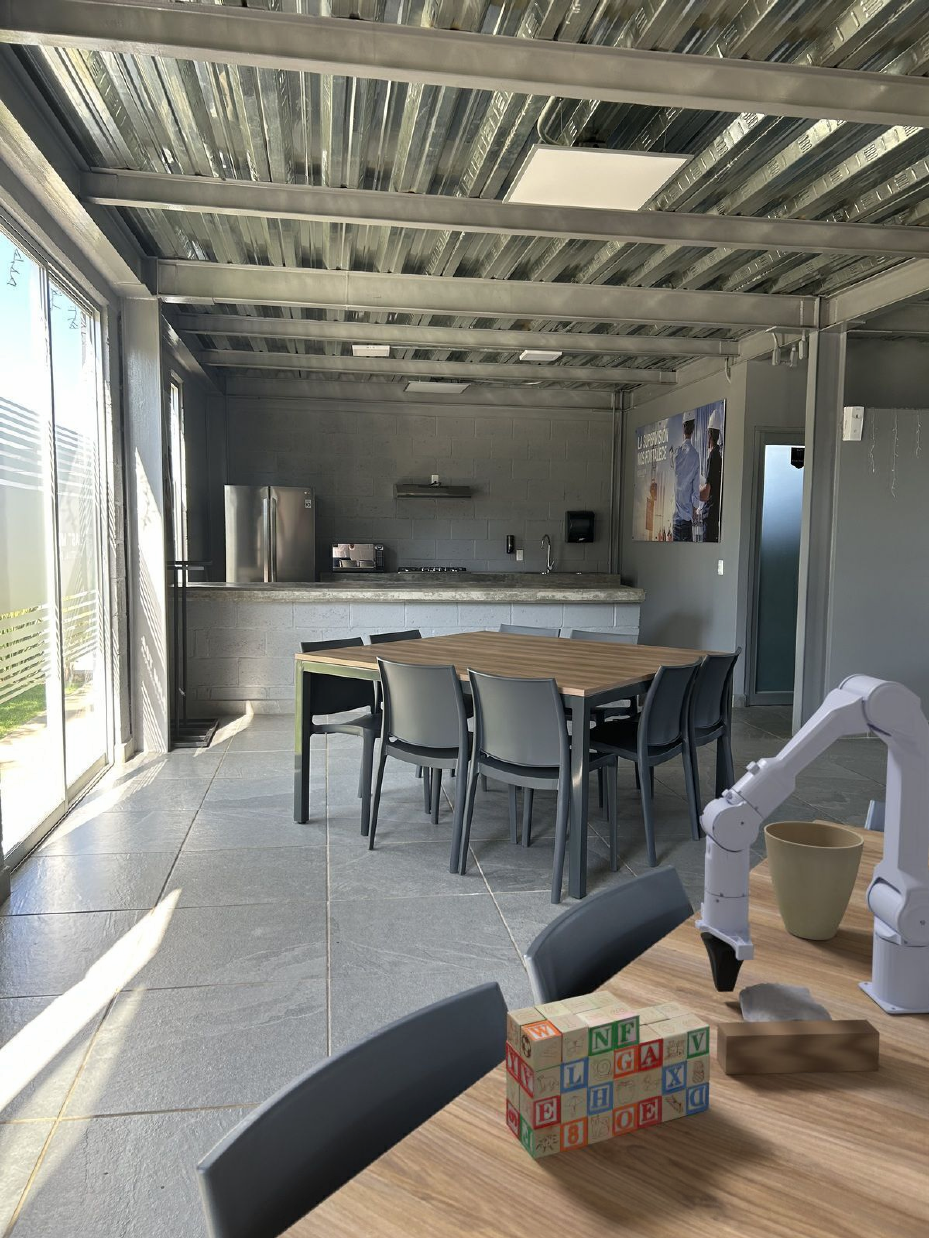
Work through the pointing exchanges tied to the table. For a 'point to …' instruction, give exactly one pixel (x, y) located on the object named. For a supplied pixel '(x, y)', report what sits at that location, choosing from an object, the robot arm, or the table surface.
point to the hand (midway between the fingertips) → (724, 989)
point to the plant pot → (812, 874)
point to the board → (797, 1046)
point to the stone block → (780, 1004)
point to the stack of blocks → (601, 1070)
